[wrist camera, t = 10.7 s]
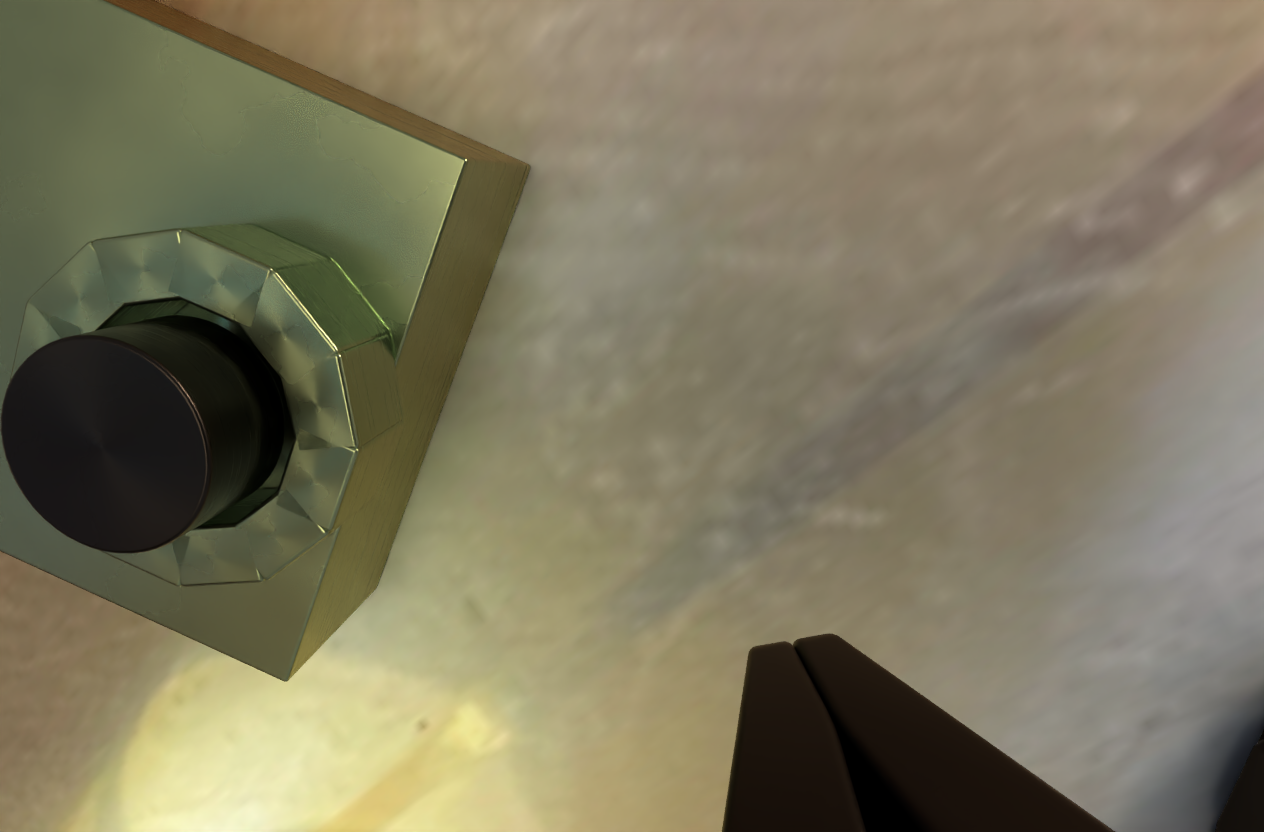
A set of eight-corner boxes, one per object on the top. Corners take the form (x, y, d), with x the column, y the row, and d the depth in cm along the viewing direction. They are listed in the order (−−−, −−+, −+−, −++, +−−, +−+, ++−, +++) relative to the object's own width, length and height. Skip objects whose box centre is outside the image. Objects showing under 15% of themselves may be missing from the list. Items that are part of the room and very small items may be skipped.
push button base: (553, 175, 21) (455, 169, 14) (394, 598, 24) (254, 755, 17) (110, -20, 21) (-193, -117, 14) (13, 425, 25) (-268, 513, 18)
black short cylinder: (310, 364, 16) (236, 393, 13) (256, 536, 17) (178, 590, 14) (127, 282, 16) (22, 297, 14) (84, 458, 17) (-21, 499, 15)
